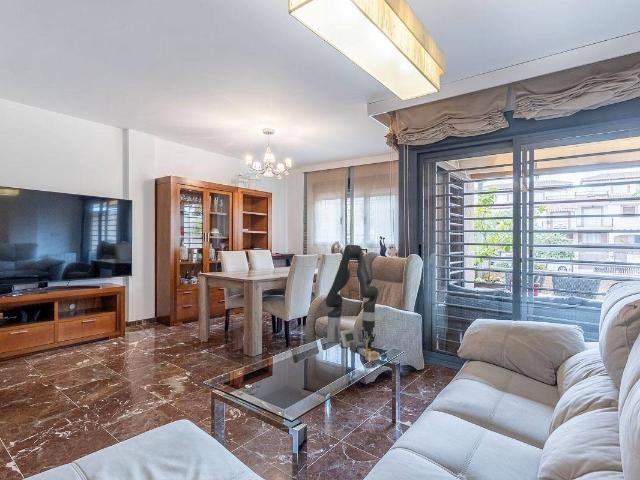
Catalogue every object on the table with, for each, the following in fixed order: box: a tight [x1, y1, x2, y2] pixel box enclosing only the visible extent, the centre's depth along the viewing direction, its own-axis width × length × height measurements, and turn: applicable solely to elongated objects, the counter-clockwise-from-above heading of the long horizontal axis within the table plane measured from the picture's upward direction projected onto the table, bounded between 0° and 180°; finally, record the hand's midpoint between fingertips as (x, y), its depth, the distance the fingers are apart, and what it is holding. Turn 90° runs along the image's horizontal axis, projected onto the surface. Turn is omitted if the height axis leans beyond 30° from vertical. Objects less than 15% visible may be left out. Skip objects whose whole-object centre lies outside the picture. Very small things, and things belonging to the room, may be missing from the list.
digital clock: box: [339, 328, 360, 349], centre depth 243 cm, size 16×9×11 cm, turn 125°
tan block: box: [364, 350, 380, 362], centre depth 212 cm, size 5×7×4 cm
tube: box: [356, 339, 371, 357], centre depth 221 cm, size 18×3×10 cm, turn 21°
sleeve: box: [349, 341, 365, 353], centre depth 231 cm, size 7×6×5 cm
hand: (368, 348), depth 217 cm, fingers closed on tube, 2 cm apart
